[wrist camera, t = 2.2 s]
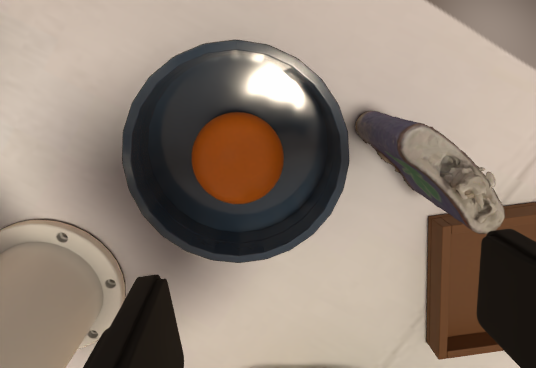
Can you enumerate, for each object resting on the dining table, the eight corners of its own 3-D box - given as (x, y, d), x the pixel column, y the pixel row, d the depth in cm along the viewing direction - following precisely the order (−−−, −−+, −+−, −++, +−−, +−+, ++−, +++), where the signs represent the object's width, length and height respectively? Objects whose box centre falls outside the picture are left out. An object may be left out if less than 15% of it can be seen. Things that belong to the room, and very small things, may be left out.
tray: (426, 341, 35) (438, 360, 33) (428, 216, 31) (442, 226, 29) (587, 319, 35) (611, 335, 33) (609, 191, 31) (638, 200, 29)
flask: (347, 126, 28) (405, 152, 18) (374, 99, 28) (449, 109, 18) (419, 198, 30) (506, 258, 20) (444, 174, 30) (548, 223, 20)
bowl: (165, 244, 30) (149, 275, 26) (123, 60, 26) (95, 56, 21) (337, 221, 31) (354, 247, 26) (325, 36, 26) (342, 26, 22)
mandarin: (205, 193, 28) (194, 224, 22) (191, 114, 27) (174, 124, 20) (283, 183, 29) (293, 211, 22) (274, 103, 27) (282, 110, 21)
